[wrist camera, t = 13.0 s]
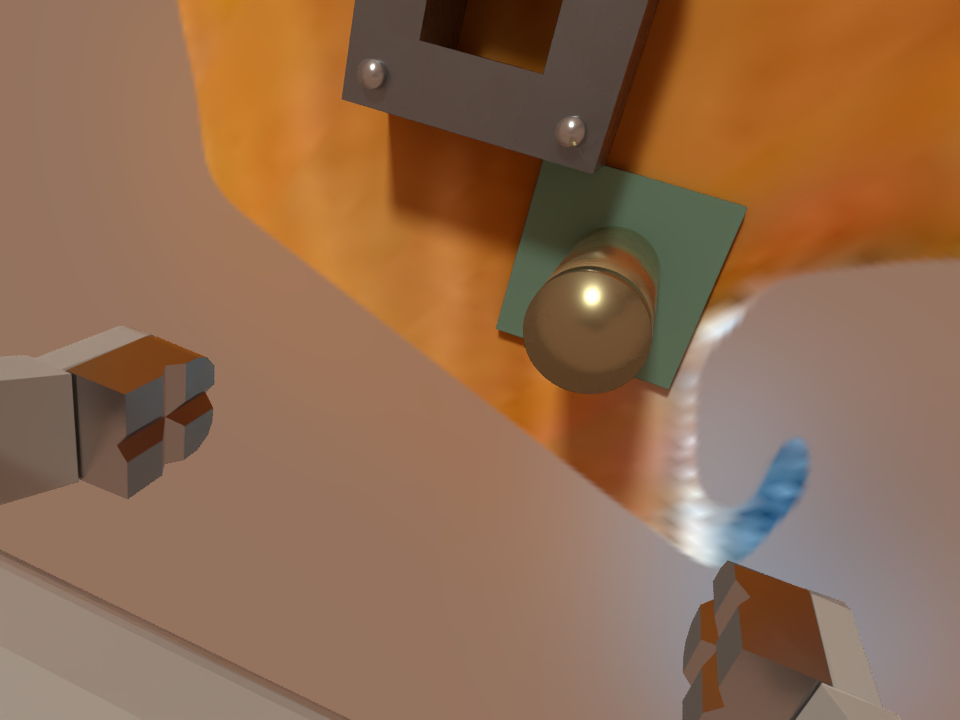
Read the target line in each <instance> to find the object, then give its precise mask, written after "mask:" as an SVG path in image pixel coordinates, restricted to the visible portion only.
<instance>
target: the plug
mask: <svg viewBox="0 0 960 720" xmlns="http://www.w3.org/2000/svg"><path fill="white" fill-rule="evenodd" d="M659 280H660V264H659V260H658V257H657V254H656V252H655V250H654V248H653V247H652V245H651V244H650V243H649V242H648V241H647V240H646V239H645V238H644V237H643V236H641V235H640V234H639V233H637V232H635V231H633V230H630V229H628V228H623V227H616V226H613V227H603V228H599V229H596V230H594V231H592V232H590V233H588V234H587V235H585V236H584V237H583V238H581V239H580V240H579V241H578V242H577V243H576V245H575V246H574V247H573V248H572V250H571V251H570V252H569V253H568V255H567V256H566V257H565V258H564V260H563V261H562V262H561V263H560V265H559V266H558V267H557V268H556V270H555V271H554V272H553V273H552V275H551V276H550V277H549V278H548V280H547V281H546V282H545V283H544V285H543V286H542V287H541V288H540V290H539V291H538V292H537V294H536V295H535V296H534V298H533V299H532V300H531V302H530V304H529V306H528V308H527V311H526V313H525V317H524V321H523V340H524V345H525V348H526V351H527V354H528V356H529V358H530V360H531V362H532V363H533V365H534V366H535V367H536V369H537V370H538V371H539V372H540V373H541V374H542V375H543V376H544V377H545V378H546V379H548V380H549V381H550V382H552V383H553V384H555V385H557V386H559V387H561V388H563V389H565V390H568V391H572V392H576V393H582V394H597V393H603V392H608V391H611V390H614V389H616V388H618V387H620V386H622V385H624V384H625V383H627V382H628V381H630V380H631V379H632V378H633V377H634V376H635V375H636V374H637V373H638V372H639V371H640V369H641V368H642V366H643V365H644V363H645V361H646V359H647V357H648V354H649V351H650V347H651V341H652V334H653V326H654V319H655V311H656V303H657V296H658V288H659Z"/></svg>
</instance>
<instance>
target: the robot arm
mask: <svg viewBox="0 0 960 720" xmlns="http://www.w3.org/2000/svg"><path fill="white" fill-rule="evenodd" d="M213 385H214V365H213V363H212V362H211V361H210V360H209V359H208V358H207V357H204V356H202V355H200V354H197V353H195V352H192V351H190V350H188V349H185V348H183V347H181V346H178V345H176V344H173V343H171V342H169V341H166V340H164V339H161V338H159V337H155V336H153V335H152V334H149V333H146V332H143V331H141V330H138V329H136V328H133V327H128V326H118V327H116V328H113V329H110V330H108V331H105V332H102V333H100V334H97V335H94V336H92V337H89V338H87V339H84V340H81V341H79V342H76V343H74V344H71V345H69V346H66V347H63V348H60V349H58V350H55V351H52V352H50V353H47V354H45V355H42V356H39V357H37V358H32V357H29V356H27V355H20V356H4V357H0V505H2V504H5V503H8V502H12V501H15V500H19V499H22V498H26V497H29V496H32V495H36V494H39V493H43V492H46V491H50V490H53V489H56V488H60V487H63V486H67V485H70V484H74V483H77V482H79V479H80V480H82V481H85V482H87V483H90V484H92V485H95V486H97V487H99V488H102V489H104V490H107V491H109V492H112V493H114V494H116V495H119V496H121V497H124V498H126V499H129V498H130V497H132V496H133V495H134V494H136V493H137V492H139V491H140V490H142V489H143V488H145V487H146V486H147V485H149V484H150V483H152V482H153V481H155V480H156V479H157V478H159V477H160V476H162V473H163V469H164V464H167V463H172V462H177V461H181V460H184V459H186V458H187V457H188V456H190V455H191V454H193V453H194V452H195V451H197V449H198V448H199V447H200V445H201V444H202V442H203V441H204V440H205V438H206V437H207V435H208V433H209V429H210V427H211V424H212V416H213V407H212V405H211V403H210V401H209V399H208V397H207V395H206V391H208V390H209V389H210V388H211V387H212V386H213ZM713 588H714V589H713V590H714V600H711V601H708V602H706V603H704V604H701V605H700V607H699V609H698V611H697V613H696V615H695V617H694V619H693V621H692V623H691V626H690V629H689V633H688V636H687V639H686V643H685V650H684V656H683V673H684V675H685V677H686V678H687V680H688V682H689V683H690V685H691V687H690V689H689V691H688V692H687V694H686V696H685V698H684V699H683V720H902V719H901V718H900V717H899V716H898V715H897V714H896V713H893V712H891V711H889V710H887V709H884V708H883V706H882V703H881V700H880V697H879V694H878V691H877V688H876V685H875V682H874V679H873V676H872V673H871V670H870V667H869V664H868V660H867V657H866V655H865V651H864V648H863V645H862V642H861V639H860V636H859V633H858V630H857V627H856V624H855V621H854V618H853V615H852V612H851V609H850V608H849V607H848V606H847V605H846V604H845V603H844V602H842V601H839V600H836V599H833V598H831V597H828V596H825V595H822V594H819V593H817V592H814V591H811V590H808V589H803V588H800V587H798V586H795V585H792V584H790V583H787V582H784V581H781V580H779V579H776V578H773V577H771V576H768V575H765V574H763V573H760V572H757V571H755V570H752V569H749V568H747V567H744V566H741V565H739V564H736V563H733V562H731V561H727V562H726V563H725V564H724V565H723V566H722V567H721V568H720V570H719V572H718V574H717V576H716V577H715V579H714V581H713ZM0 720H350V719H348V718H346V717H344V716H342V715H340V714H338V713H336V712H334V711H331V710H330V709H327V708H326V707H323V706H321V705H319V704H317V703H315V702H313V701H311V700H309V699H307V698H305V697H303V696H300V695H299V694H297V693H295V692H293V691H291V690H288V689H286V688H284V687H282V686H280V685H278V684H276V683H274V682H272V681H270V680H268V679H266V678H264V677H262V676H260V675H257V674H256V673H253V672H251V671H249V670H247V669H245V668H243V667H241V666H239V665H237V664H235V663H233V662H231V661H229V660H227V659H225V658H223V657H221V656H218V655H216V654H214V653H212V652H210V651H208V650H206V649H204V648H202V647H200V646H198V645H195V644H194V643H192V642H190V641H187V640H186V639H184V638H181V637H179V636H177V635H175V634H173V633H171V632H169V631H167V630H165V629H163V628H161V627H159V626H157V625H155V624H153V623H150V622H148V621H146V620H144V619H142V618H140V617H138V616H136V615H134V614H132V613H130V612H128V611H126V610H124V609H122V608H120V607H118V606H116V605H114V604H111V603H109V602H107V601H105V600H103V599H101V598H99V597H97V596H95V595H93V594H91V593H89V592H87V591H84V590H83V589H81V588H79V587H76V586H74V585H72V584H70V583H68V582H66V581H64V580H62V579H60V578H58V577H56V576H54V575H52V574H50V573H47V572H46V571H44V570H41V569H39V568H37V567H35V566H33V565H31V564H29V563H27V562H25V561H23V560H21V559H19V558H17V557H15V556H13V555H10V554H9V553H6V552H4V551H2V550H0Z"/></svg>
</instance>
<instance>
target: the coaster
mask: <svg viewBox="0 0 960 720" xmlns="http://www.w3.org/2000/svg"><path fill="white" fill-rule="evenodd" d="M746 210H747V207H746V206H742V205H739V204H736V203H732V202H729V201H726V200H722V199H719V198H715V197H712V196H709V195H705V194H702V193H699V192H695V191H692V190H688V189H685V188H682V187H678V186H675V185H671V184H668V183H665V182H661V181H658V180H655V179H651V178H648V177H644V176H641V175H638V174H634V173H631V172H628V171H624V170H621V169H617V168H614V167H611V166H607V165H605V166H604V167H602V168H601V169H600V170H598V171H597V172H596V173H594V174H590V173H587V172H583V171H580V170H577V169H573V168H570V167H566V166H563V165H560V164H556V163H553V162H550V161H546V160H543V162H542V166H541V169H540V173H539V176H538V180H537V183H536V187H535V191H534V194H533V198H532V201H531V205H530V208H529V212H528V216H527V219H526V223H525V226H524V230H523V233H522V237H521V240H520V244H519V248H518V251H517V255H516V258H515V262H514V265H513V269H512V273H511V276H510V280H509V283H508V287H507V290H506V294H505V298H504V301H503V305H502V308H501V312H500V315H499V319H498V323H497V326H496V329H498V330H501V331H504V332H507V333H510V334H513V335H515V336H518V337H521V338H523V321H524V317H525V313H526V311H527V308H528V306H529V304H530V302H531V300H532V299H533V298H534V296H535V295H536V294H537V292H538V291H539V290H540V288H541V287H542V286H543V285H544V283H545V282H546V281H547V280H548V278H549V277H550V276H551V275H552V273H553V272H554V271H555V270H556V268H557V267H558V266H559V265H560V263H561V262H562V261H563V260H564V258H565V257H566V256H567V255H568V253H569V252H570V251H571V250H572V248H573V247H574V246H575V245H576V243H577V242H578V241H579V240H580V239H581V238H583V237H584V236H585V235H587V234H588V233H590V232H592V231H594V230H596V229H599V228H603V227H613V226H616V227H623V228H628V229H630V230H633V231H635V232H637V233H639V234H640V235H641V236H643V237H644V238H645V239H646V240H647V241H648V242H649V243H650V244H651V245H652V247H653V248H654V250H655V252H656V254H657V257H658V260H659V264H660V280H659V288H658V296H657V303H656V311H655V319H654V326H653V334H652V341H651V347H650V351H649V354H648V357H647V359H646V361H645V363H644V365H643V366H642V368H641V369H640V371H639V372H638V373H637V374H636V375H635V376H634V377H635V378H638V379H641V380H643V381H646V382H649V383H652V384H655V385H658V386H661V387H663V388H666V389H669V387H670V385H671V383H672V381H673V378H674V376H675V374H676V371H677V369H678V367H679V364H680V362H681V360H682V357H683V355H684V353H685V351H686V348H687V346H688V344H689V341H690V339H691V337H692V334H693V332H694V330H695V328H696V325H697V323H698V321H699V318H700V316H701V314H702V311H703V309H704V307H705V305H706V302H707V300H708V298H709V295H710V293H711V291H712V288H713V286H714V284H715V281H716V279H717V277H718V275H719V272H720V270H721V268H722V265H723V263H724V261H725V258H726V256H727V254H728V252H729V249H730V247H731V245H732V242H733V240H734V238H735V235H736V233H737V231H738V229H739V226H740V224H741V222H742V219H743V217H744V215H745V212H746Z"/></svg>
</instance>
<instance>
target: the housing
mask: <svg viewBox="0 0 960 720" xmlns="http://www.w3.org/2000/svg"><path fill="white" fill-rule="evenodd" d="M658 2H659V0H563V2H562V6H561V9H560V13H559V17H558V21H557V24H556V28H555V32H554V36H553V40H552V43H551V47H550V51H549V55H548V58H547V62H546V66H545V70H544V73H543V74H541V73H538V72H534V71H530V70H527V69H523V68H520V67H516V66H512V65H509V64H505V63H501V62H498V61H494V60H491V59H487V58H483V57H480V56H476V55H472V54H469V53H465V52H462V51H458V50H457V47H458V42H459V37H460V32H461V27H462V23H463V18H464V13H465V8H466V3H467V0H355V6H354V13H353V20H352V28H351V35H350V42H349V50H348V57H347V64H346V72H345V79H344V86H343V93H342V99H343V100H346V101H349V102H353V103H356V104H359V105H363V106H366V107H369V108H373V109H376V110H380V111H383V112H386V113H390V114H393V115H396V116H400V117H403V118H406V119H410V120H413V121H416V122H420V123H423V124H426V125H430V126H433V127H436V128H440V129H443V130H446V131H450V132H453V133H456V134H460V135H463V136H466V137H470V138H473V139H476V140H480V141H483V142H486V143H490V144H493V145H496V146H500V147H503V148H506V149H510V150H513V151H516V152H520V153H523V154H526V155H530V156H533V157H536V158H540V159H543V160H546V161H550V162H553V163H556V164H560V165H563V166H566V167H570V168H573V169H577V170H580V171H583V172H587V173H590V174H594V173H596V172H597V171H598V170H600V169H601V168H602V167H604V166H605V165H606V162H607V159H608V156H609V153H610V150H611V147H612V144H613V141H614V137H615V134H616V131H617V128H618V125H619V122H620V119H621V116H622V113H623V110H624V107H625V103H626V100H627V97H628V94H629V91H630V88H631V85H632V82H633V79H634V76H635V73H636V70H637V66H638V63H639V60H640V57H641V54H642V51H643V48H644V45H645V42H646V39H647V36H648V33H649V29H650V26H651V23H652V20H653V17H654V14H655V11H656V8H657V5H658Z"/></svg>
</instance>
